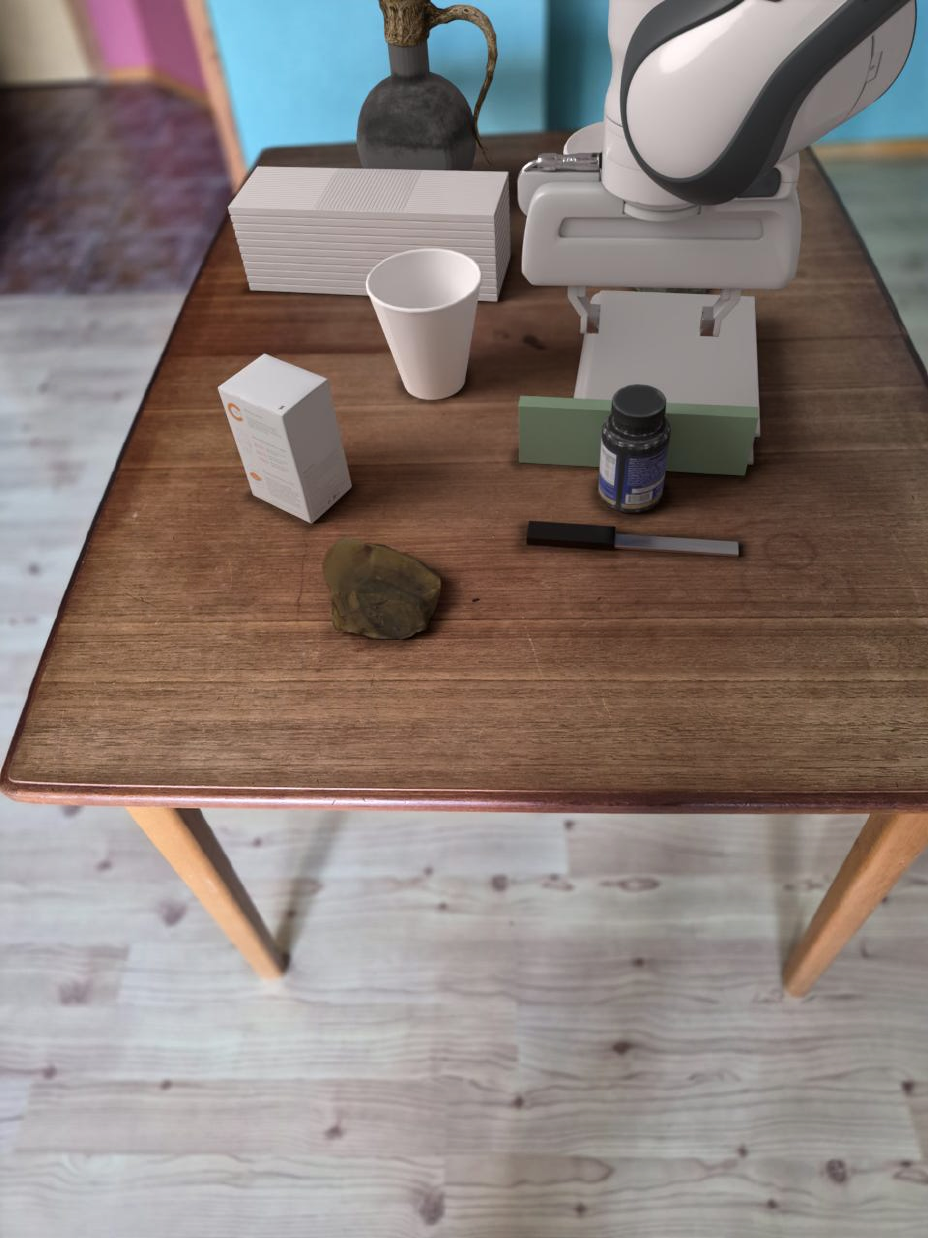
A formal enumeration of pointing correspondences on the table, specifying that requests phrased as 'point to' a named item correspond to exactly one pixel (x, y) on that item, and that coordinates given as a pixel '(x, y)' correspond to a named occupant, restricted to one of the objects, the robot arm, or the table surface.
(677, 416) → the green board
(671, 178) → the robot arm
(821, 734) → the table surface
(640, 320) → the white rectangular block
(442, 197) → the white ribbed block
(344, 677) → the table surface
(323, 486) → the small box
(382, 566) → the decorative stone
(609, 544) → the table knife
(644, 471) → the pill bottle
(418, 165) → the pitcher
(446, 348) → the cup
